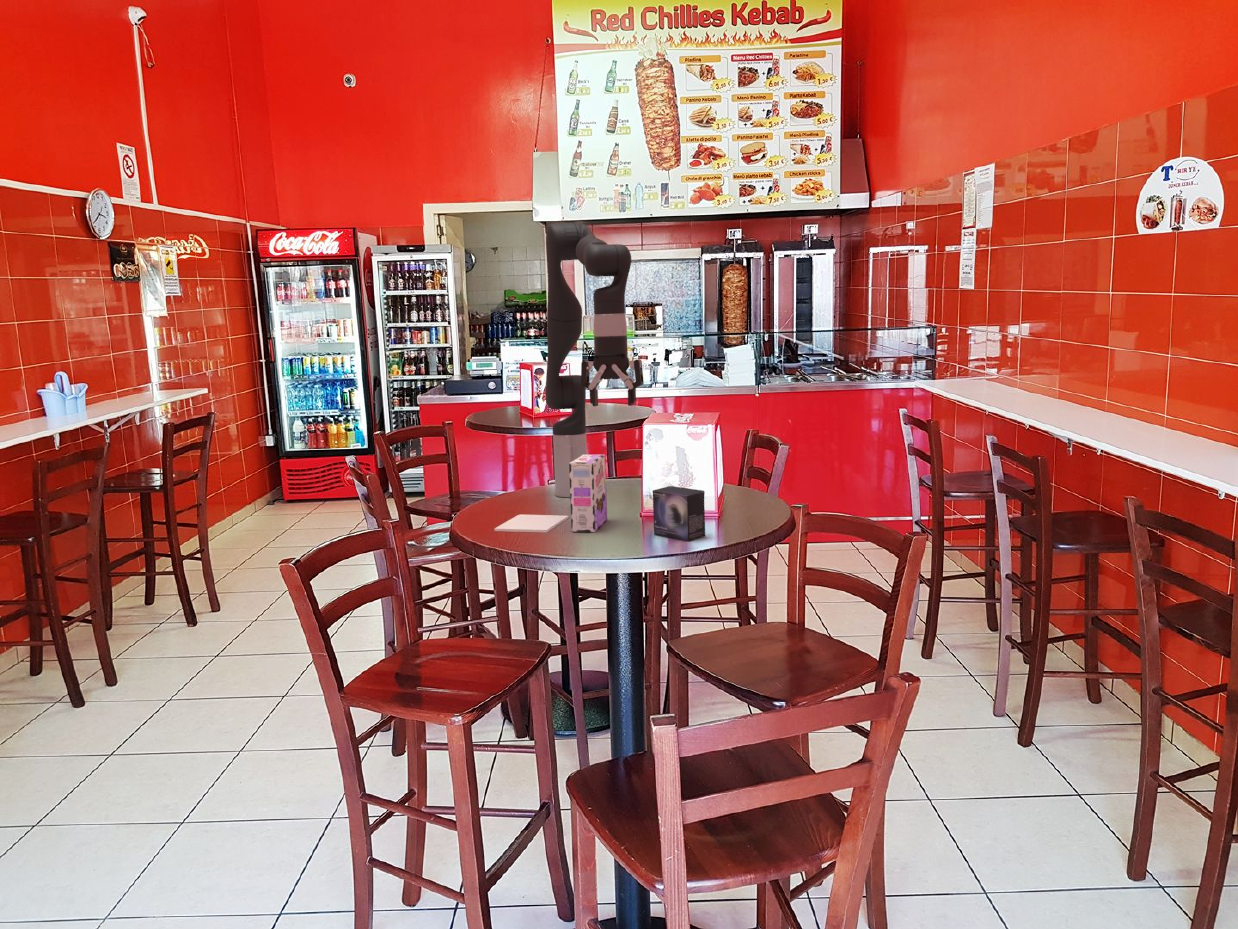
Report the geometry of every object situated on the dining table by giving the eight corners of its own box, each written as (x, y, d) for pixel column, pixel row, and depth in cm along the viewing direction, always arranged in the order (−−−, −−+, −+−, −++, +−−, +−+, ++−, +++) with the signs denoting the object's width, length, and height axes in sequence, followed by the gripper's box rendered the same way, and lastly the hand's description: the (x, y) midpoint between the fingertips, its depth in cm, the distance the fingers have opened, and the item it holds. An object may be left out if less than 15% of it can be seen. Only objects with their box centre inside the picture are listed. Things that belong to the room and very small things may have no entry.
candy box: (595, 533, 220) (592, 462, 217) (570, 532, 221) (567, 462, 219) (608, 520, 233) (605, 453, 231) (584, 519, 235) (582, 453, 232)
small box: (651, 535, 216) (650, 489, 214) (671, 530, 220) (669, 485, 219) (687, 542, 208) (686, 494, 207) (706, 536, 213) (705, 490, 211)
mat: (519, 516, 240) (519, 514, 240) (568, 518, 237) (568, 515, 237) (494, 531, 225) (494, 528, 225) (546, 532, 222) (546, 530, 222)
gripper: (645, 333, 219) (647, 404, 221) (586, 335, 223) (588, 404, 225) (636, 333, 212) (638, 407, 214) (575, 335, 216) (578, 407, 218)
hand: (613, 405), depth 220 cm, fingers open, 8 cm apart
